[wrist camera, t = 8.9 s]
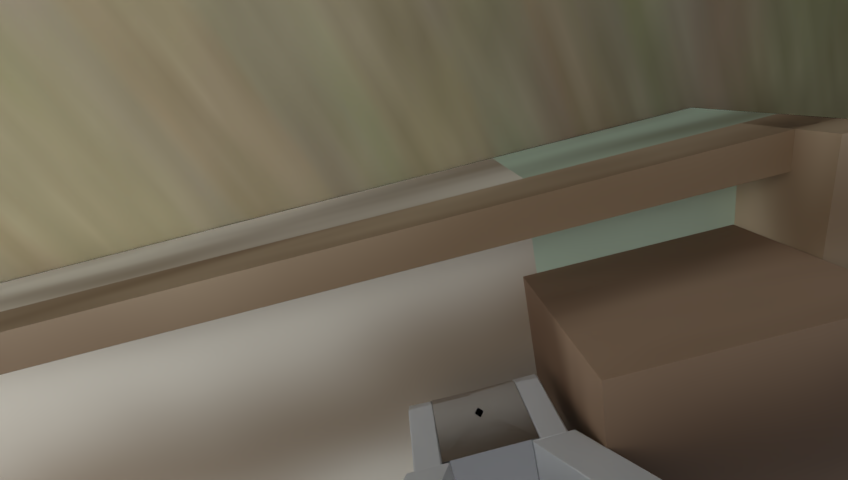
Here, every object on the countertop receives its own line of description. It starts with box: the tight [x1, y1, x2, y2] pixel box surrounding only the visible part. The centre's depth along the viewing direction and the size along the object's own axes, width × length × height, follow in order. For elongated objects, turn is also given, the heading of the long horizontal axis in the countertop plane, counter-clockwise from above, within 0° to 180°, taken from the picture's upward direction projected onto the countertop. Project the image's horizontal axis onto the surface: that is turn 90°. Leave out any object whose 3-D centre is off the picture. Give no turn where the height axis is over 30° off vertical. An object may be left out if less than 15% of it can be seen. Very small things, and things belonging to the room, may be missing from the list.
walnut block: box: [523, 225, 848, 480], centre depth 9 cm, size 5×5×4 cm
